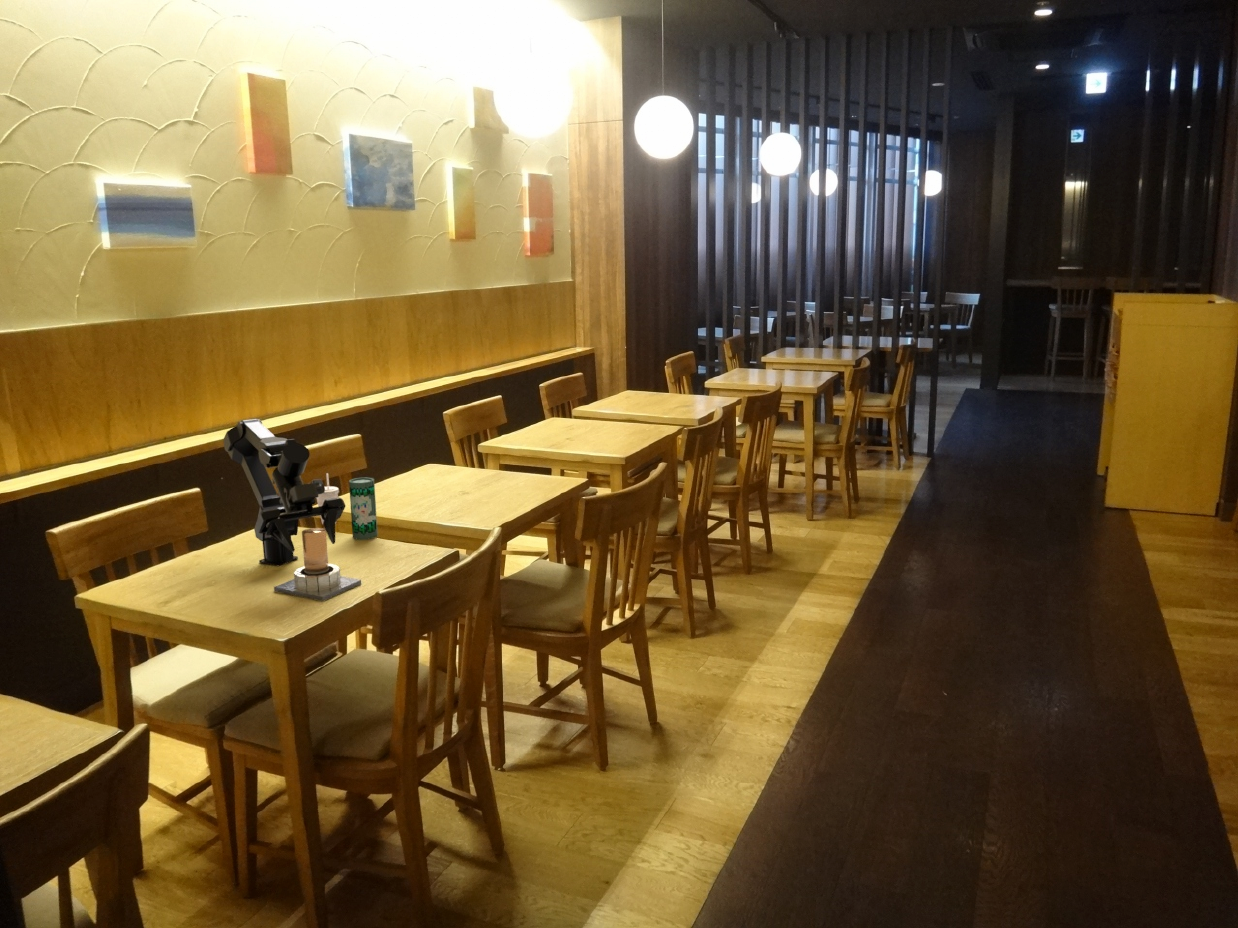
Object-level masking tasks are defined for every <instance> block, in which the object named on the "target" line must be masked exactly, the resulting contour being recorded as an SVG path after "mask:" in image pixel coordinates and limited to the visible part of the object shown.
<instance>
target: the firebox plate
mask: <svg viewBox="0 0 1238 928" xmlns="http://www.w3.org/2000/svg"><path fill="white" fill-rule="evenodd" d="M328 567H329V573H327V574H324V575H318V576H307V575H305V572H304V569H305V566H301V567H299V568H296V569H295V571H294V572H293V579H291V580H288V581H285V582H283V583H280V584H277V585H275V586H273V589H274V590H273V592H275V593H281V594H286V595H290V596H294V597H300V598H305V599H309V600H314V601H318V602H319V601H320V602H325V601H326V600H329V599H331V598H334V597H336V596H338V595H340V594H343V593H345V592H347V591H349V590H351V589H354V588H355V587H358V586H360V585H362V579H358V578H353V577H348V576H342V575H341V569H340V567H339V566H338V565H336V564H333V563H328Z"/></svg>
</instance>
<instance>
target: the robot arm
mask: <svg viewBox="0 0 1238 928" xmlns="http://www.w3.org/2000/svg"><path fill="white" fill-rule="evenodd" d="M222 442H223V448H224V450H225V452H227V454H228V456H229V458H230V459H231V460H232V461H234V462H235V463H237V464H239V465H241V467H242V469H243V471H244V473H245V476H246V479H247V480H248V482H249V485H250V486H251V489H252V491H253V494H254V497H255V499H256V500H257V503H258V505H259V510H258V516H257V520H256V523H255V526H254V535H255V538H256V539H258V540H259V541H261V542H262V550H263V551H262V552H263V558H262V559H259V563H260V564H266V565H269V566H270V565H271V566H277V567H280V566H283V565H285V564H288V563H290V562H292V561H295V560H298V559H299V557H298V556H297V555H294V552H295V547H294V546H295V545H294V543H293V541H292V536H297V535H298V532H299V531H298V530H299V520H302V519H308V518H312V517H318V516H320V515H321V517H322V519H323V520H324V522H323V527H324V529H325V530H326V535H327V536H328V538H329V541H330V542H331V544H333V545H335V543H336V524H335V522H336V523H337V521H338V520H339V519H340V518H341V517H342V515H343V513H344V511H345V508H346V503H345V500H344V499H343V498H341V497H339V496H338V497H337V498H332V499H326V500H324V503H323V505H322V506H320V507H318V506H315V507H314V506H313V505H315V504H316V502H317V500H316V499H317V497H319V495H318V494H322V493H324V492H325V487H326V486H325V484H324V482H323V480H322V478H317V479H313V480H312V481H311V483H310V482H309V483H304V481H303V479H302V476H301V475H302V474H304V472H305V469H306V466H307V464H308V461H309V458H310V455H311V454H310V450H309V448H307V447H306V446H305V445H304V444H302V443H300V442H297V440H296V439H295V438H291V439H287V438H285V437H277V436H275V435H274V434H273V433H272V432H271V431H270V430H269V429H268V428H267V427H266V426H264V425H263V422H262V420H261V419H258V418H251V419H241V421H238V422H237V424H236V425H235V426H233V427H232V428H231V429H229V430H227V431H226V433H225V434H224V437H223V441H222ZM269 468H275V469H273V471H272V473H271V477H272V479H271V477H270V474H269V473H268V470H267V469H269ZM274 484H275V486H274ZM321 517H320V518H321Z"/></svg>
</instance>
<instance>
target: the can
mask: <svg viewBox="0 0 1238 928" xmlns="http://www.w3.org/2000/svg"><path fill="white" fill-rule="evenodd" d="M348 488H349V500H350V501H349V502H350V516H351V531H352V538H353V539H354V540H356V541H357V540H359V541H365V540H367V541H368V540H372V539H376V538H378V520H377V519H378V518H377V517H378V516H377V504H376V503H377V502H376V487H375V478H374V477H355V478H352V479H349V481H348Z"/></svg>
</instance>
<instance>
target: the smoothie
mask: <svg viewBox="0 0 1238 928" xmlns="http://www.w3.org/2000/svg"><path fill="white" fill-rule="evenodd" d="M325 474H326V475H325V477H326V486H324V487H325V492H324V493H322V494H318V495H319V497H316V502H317V505H318V506H317V507H320V506H322V505H323V503H324V500H326V499H332V498H337V497H339V493H340V489H339V487H337V486H331V485H330V479H329V476H330V475H329V473H328V472H327V473H325ZM319 516H320V522H321V525H323V522H324V520H323V519H322V517H321V515H319ZM336 524H337V521H336V522H335V525H336ZM323 526H324V525H323Z"/></svg>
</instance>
